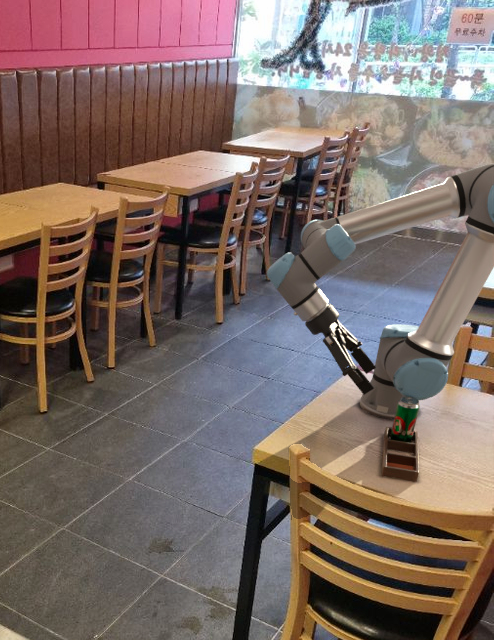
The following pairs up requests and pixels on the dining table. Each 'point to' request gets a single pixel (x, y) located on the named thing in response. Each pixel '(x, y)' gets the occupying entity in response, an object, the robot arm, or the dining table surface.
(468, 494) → the dining table surface
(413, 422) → the soda can
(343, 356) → the robot arm
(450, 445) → the dining table surface
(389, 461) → the caddy
